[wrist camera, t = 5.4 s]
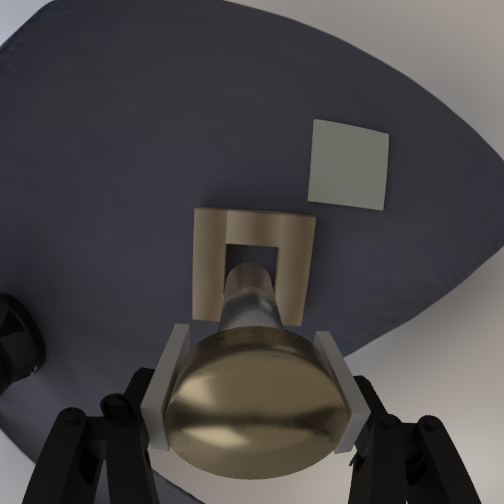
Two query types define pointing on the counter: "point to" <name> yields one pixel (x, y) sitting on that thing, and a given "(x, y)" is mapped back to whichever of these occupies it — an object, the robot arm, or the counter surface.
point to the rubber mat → (348, 165)
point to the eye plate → (251, 233)
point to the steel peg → (253, 391)
